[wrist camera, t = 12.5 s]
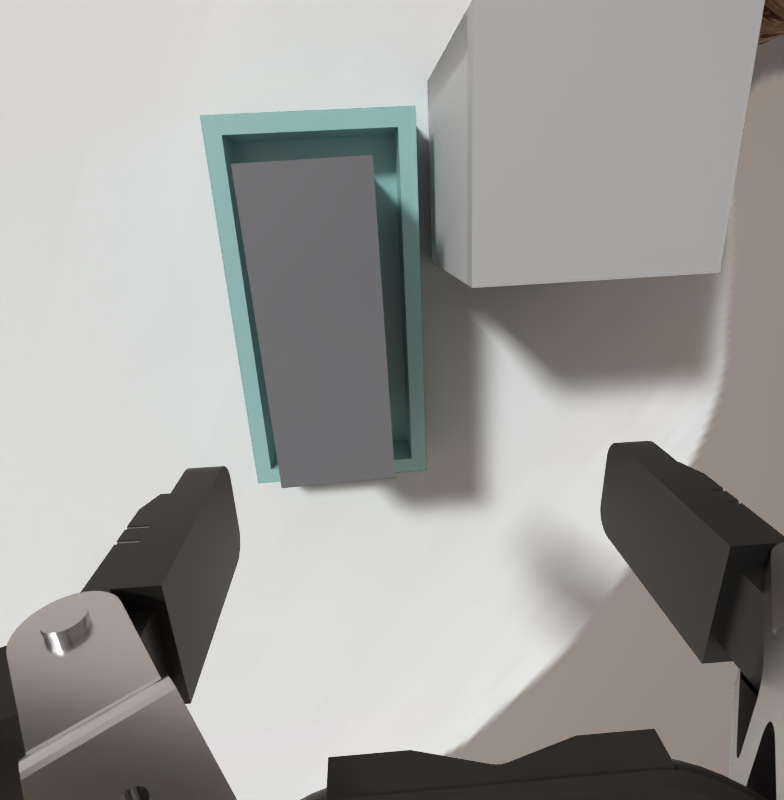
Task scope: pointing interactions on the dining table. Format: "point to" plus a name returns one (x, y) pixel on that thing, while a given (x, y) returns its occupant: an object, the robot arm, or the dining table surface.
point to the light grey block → (588, 138)
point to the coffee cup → (772, 20)
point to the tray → (398, 247)
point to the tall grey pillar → (319, 315)
